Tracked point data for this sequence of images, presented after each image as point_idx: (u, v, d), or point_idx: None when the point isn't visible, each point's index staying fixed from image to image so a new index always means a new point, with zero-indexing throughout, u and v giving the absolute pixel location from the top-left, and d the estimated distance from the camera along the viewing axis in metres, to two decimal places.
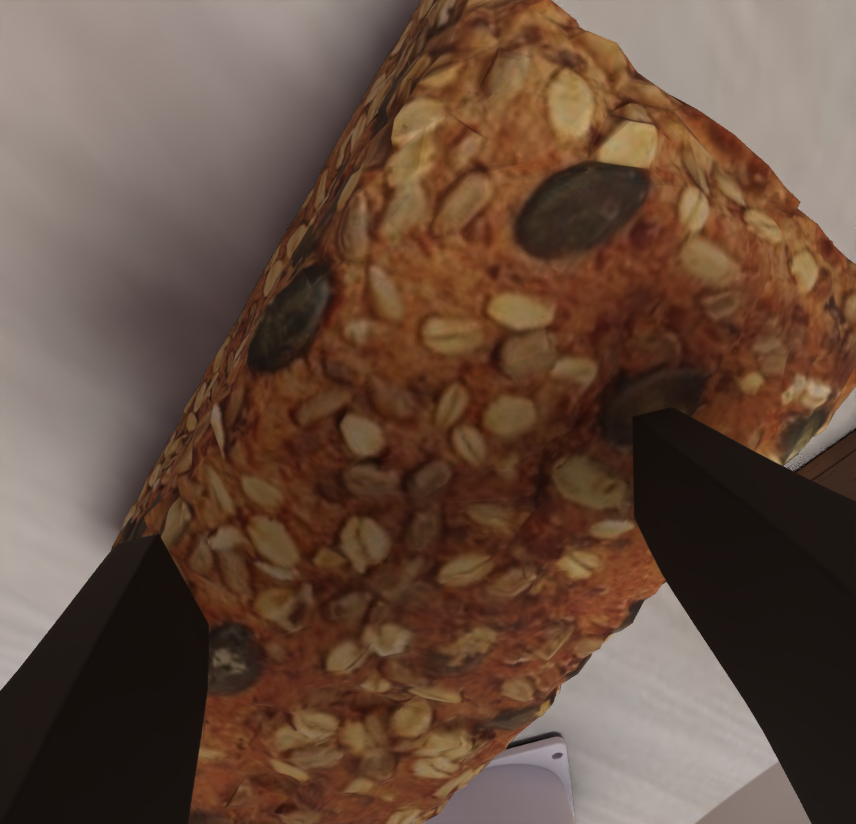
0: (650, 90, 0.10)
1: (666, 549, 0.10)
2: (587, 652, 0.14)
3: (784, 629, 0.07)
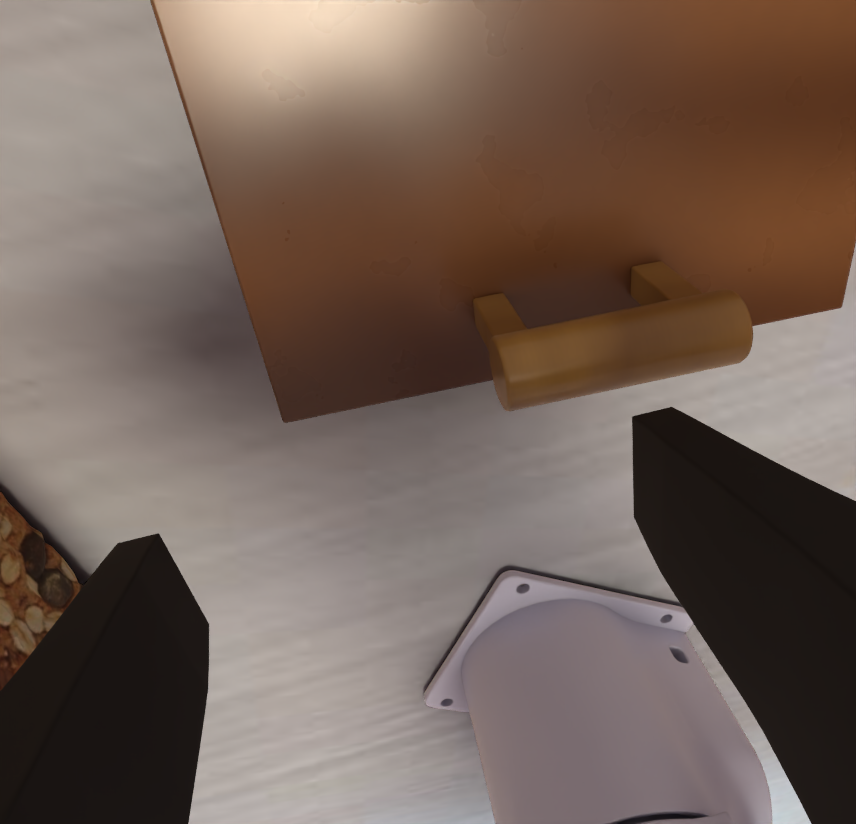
0: None
1: (666, 549, 0.10)
2: None
3: (784, 629, 0.07)
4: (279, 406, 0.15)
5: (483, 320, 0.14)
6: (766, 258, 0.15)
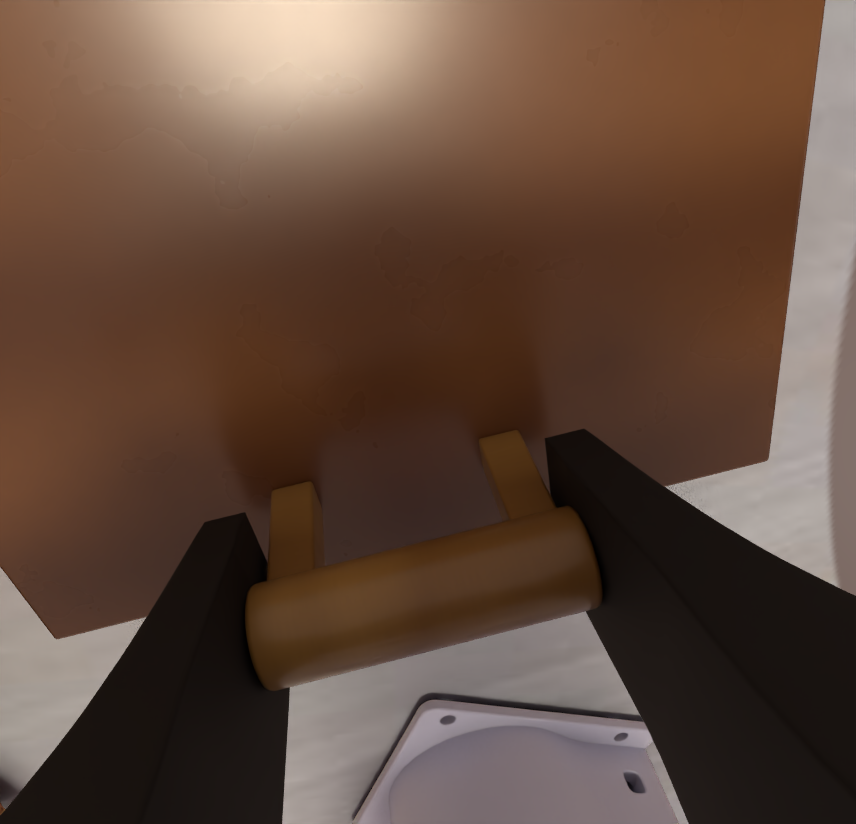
0: None
1: None
2: None
3: (666, 660, 0.07)
4: (44, 623, 0.12)
5: (269, 534, 0.10)
6: (659, 415, 0.12)
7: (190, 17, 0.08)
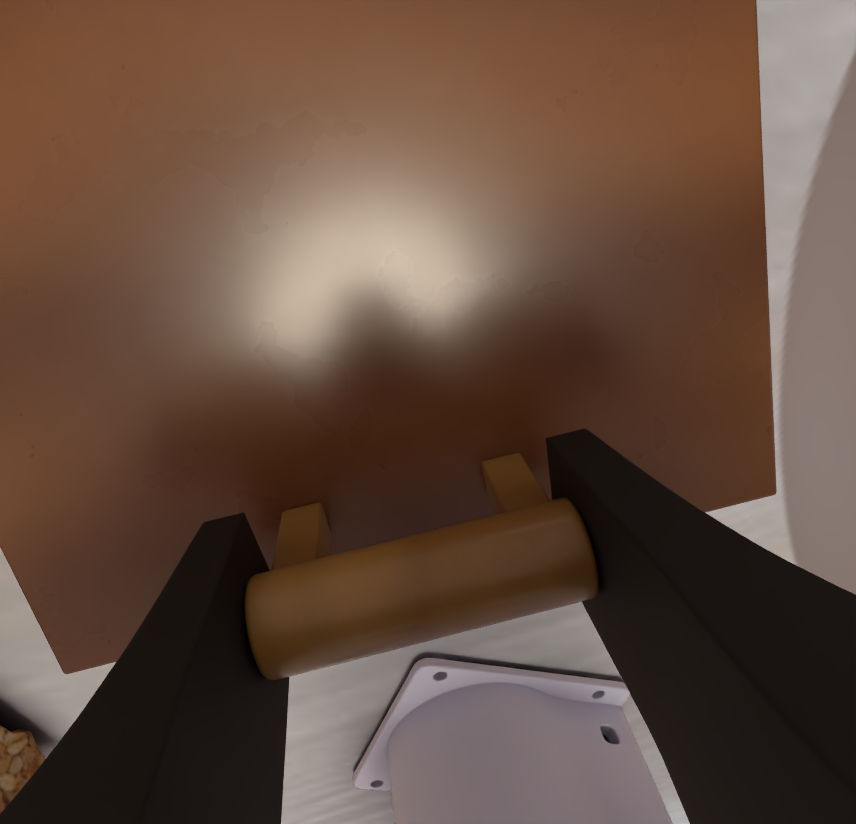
0: None
1: None
2: None
3: (667, 659, 0.07)
4: (55, 654, 0.12)
5: (276, 543, 0.11)
6: (658, 441, 0.12)
7: (227, 76, 0.09)
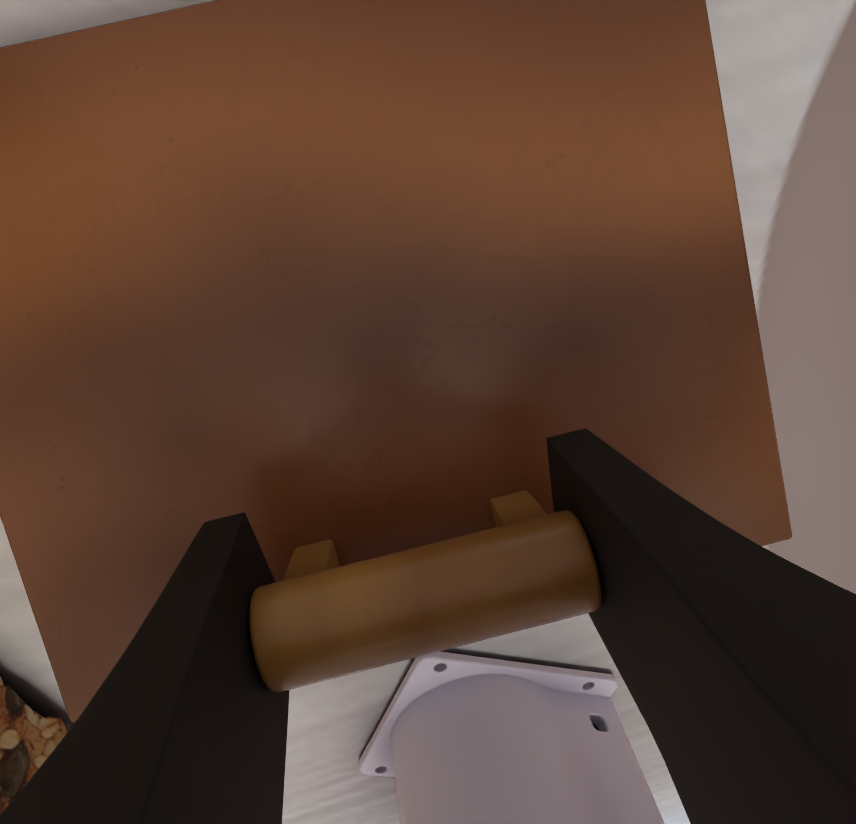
0: None
1: None
2: None
3: (668, 659, 0.07)
4: (63, 699, 0.12)
5: (286, 571, 0.11)
6: (665, 480, 0.12)
7: (258, 146, 0.11)
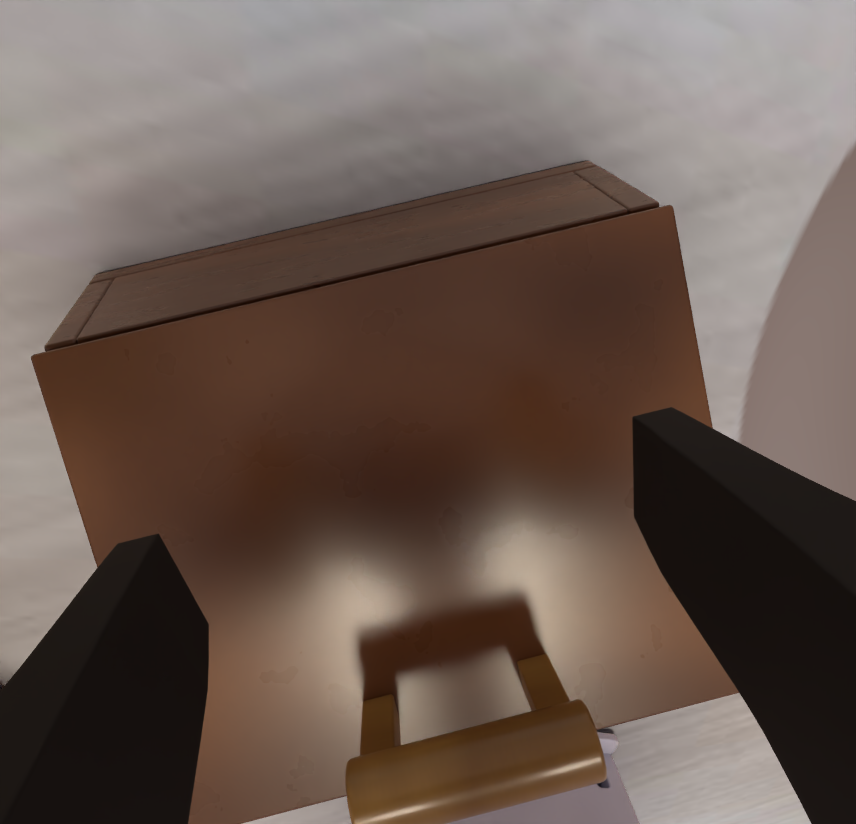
0: None
1: (666, 549, 0.10)
2: None
3: (784, 629, 0.07)
4: None
5: (361, 730, 0.14)
6: (656, 644, 0.15)
7: (338, 398, 0.14)
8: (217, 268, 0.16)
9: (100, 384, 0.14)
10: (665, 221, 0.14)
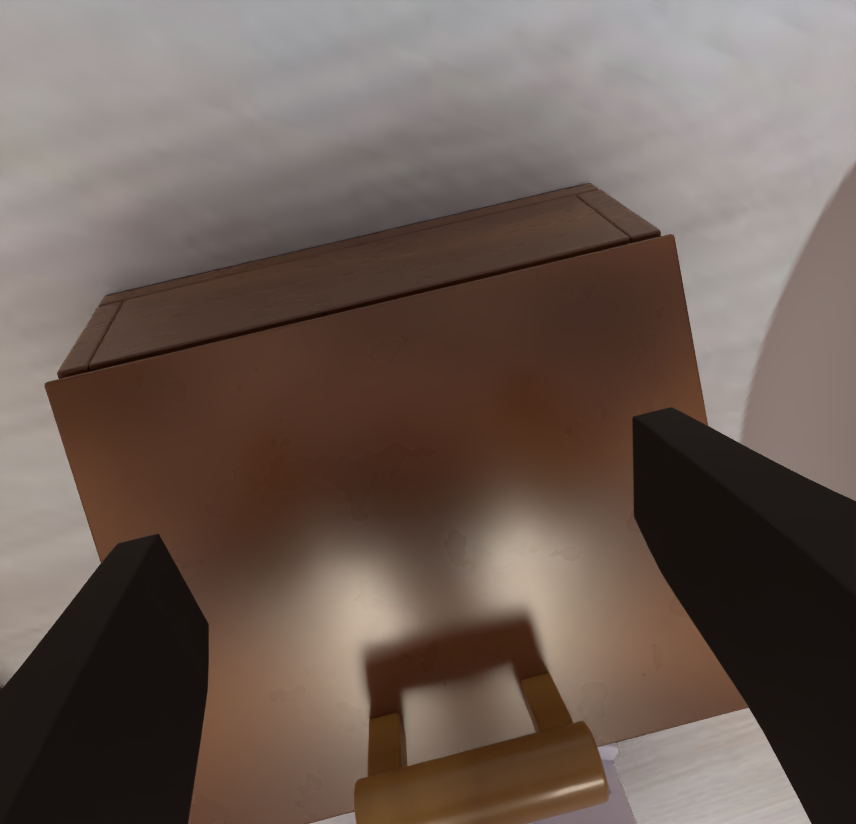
0: None
1: (666, 550, 0.10)
2: None
3: (784, 629, 0.07)
4: None
5: (368, 749, 0.14)
6: (657, 663, 0.15)
7: (346, 423, 0.14)
8: (225, 292, 0.16)
9: (112, 411, 0.14)
10: (666, 250, 0.14)
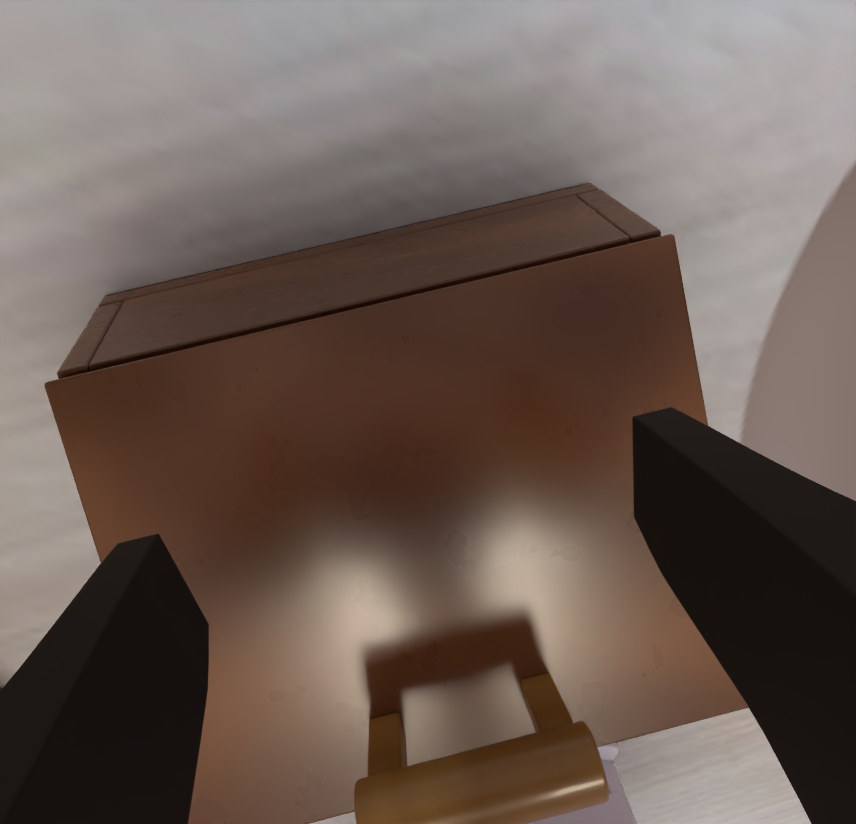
0: None
1: (666, 550, 0.10)
2: None
3: (784, 629, 0.07)
4: None
5: (368, 749, 0.14)
6: (657, 663, 0.15)
7: (346, 423, 0.14)
8: (225, 292, 0.16)
9: (112, 411, 0.14)
10: (666, 250, 0.14)
